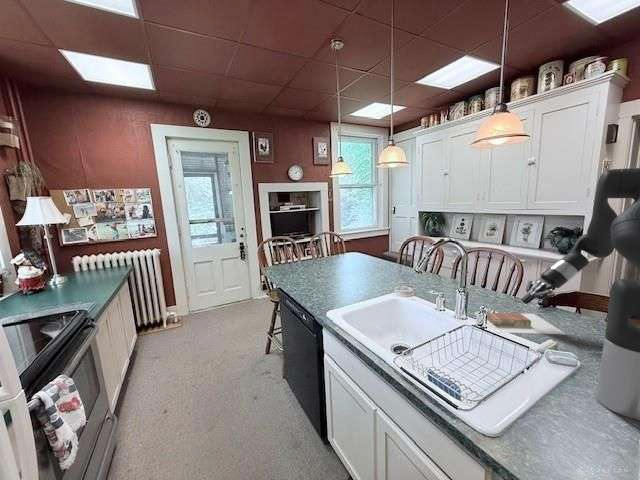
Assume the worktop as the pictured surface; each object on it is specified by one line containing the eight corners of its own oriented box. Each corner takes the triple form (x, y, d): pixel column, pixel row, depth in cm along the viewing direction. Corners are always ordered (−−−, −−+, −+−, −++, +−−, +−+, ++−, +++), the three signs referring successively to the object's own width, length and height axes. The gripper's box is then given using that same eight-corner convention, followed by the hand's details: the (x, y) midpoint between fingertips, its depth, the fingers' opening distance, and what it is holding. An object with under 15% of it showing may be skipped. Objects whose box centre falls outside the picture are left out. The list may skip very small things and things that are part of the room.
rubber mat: (533, 315, 119) (533, 313, 119) (566, 335, 102) (566, 334, 102) (473, 313, 122) (473, 312, 122) (495, 333, 104) (495, 332, 104)
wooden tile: (520, 313, 114) (485, 312, 116) (531, 320, 108) (494, 319, 109) (519, 318, 115) (485, 318, 116) (530, 326, 108) (494, 325, 109)
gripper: (540, 263, 113) (507, 290, 117) (566, 272, 100) (528, 302, 104) (552, 275, 114) (519, 302, 117) (579, 285, 101) (541, 315, 104)
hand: (523, 302), depth 110 cm, fingers closed
